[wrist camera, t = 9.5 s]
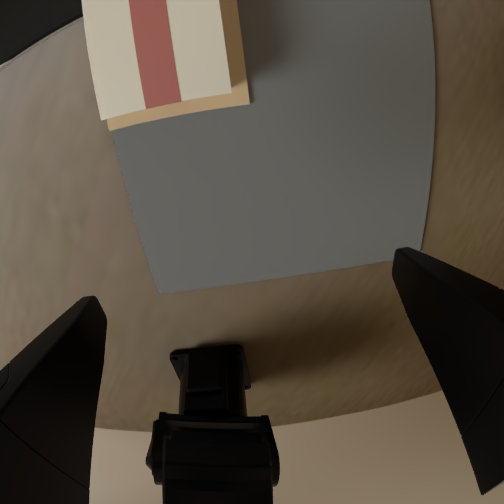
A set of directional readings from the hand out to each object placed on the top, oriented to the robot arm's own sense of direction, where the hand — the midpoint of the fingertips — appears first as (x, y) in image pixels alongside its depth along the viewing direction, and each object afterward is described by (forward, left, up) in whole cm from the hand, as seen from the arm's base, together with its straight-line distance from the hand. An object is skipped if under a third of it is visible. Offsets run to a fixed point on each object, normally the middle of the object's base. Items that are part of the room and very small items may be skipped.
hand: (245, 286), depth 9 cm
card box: (+10, +3, -11) cm, 15 cm away
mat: (+4, -3, -12) cm, 13 cm away
